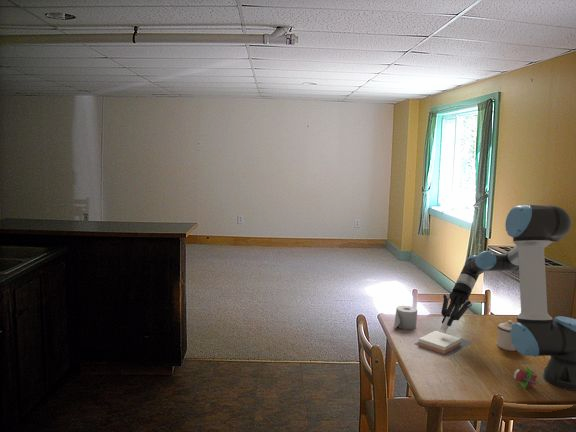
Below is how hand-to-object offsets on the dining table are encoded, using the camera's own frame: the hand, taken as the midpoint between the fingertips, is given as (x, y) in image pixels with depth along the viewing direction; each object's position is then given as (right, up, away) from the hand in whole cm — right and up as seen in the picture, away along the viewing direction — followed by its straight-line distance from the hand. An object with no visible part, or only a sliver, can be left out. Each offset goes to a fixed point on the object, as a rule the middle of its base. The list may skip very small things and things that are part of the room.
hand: (442, 331), depth 213 cm
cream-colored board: (+3, -4, +4) cm, 6 cm away
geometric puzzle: (+18, -12, -35) cm, 42 cm away
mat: (+1, -6, +2) cm, 6 cm away
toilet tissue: (-12, -3, +21) cm, 24 cm away
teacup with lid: (+28, -7, +1) cm, 29 cm away
